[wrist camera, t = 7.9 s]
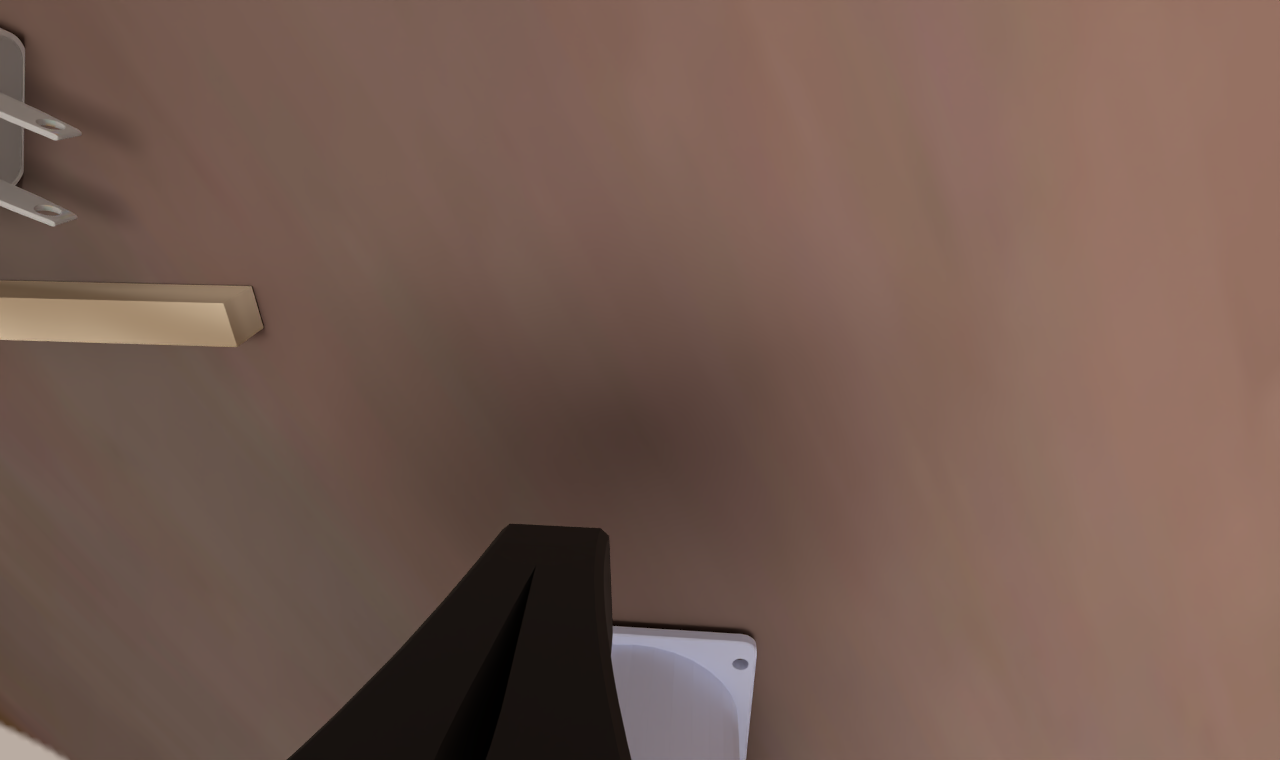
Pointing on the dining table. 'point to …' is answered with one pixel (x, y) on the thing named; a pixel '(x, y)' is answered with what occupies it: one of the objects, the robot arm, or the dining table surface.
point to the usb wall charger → (3, 135)
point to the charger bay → (128, 313)
